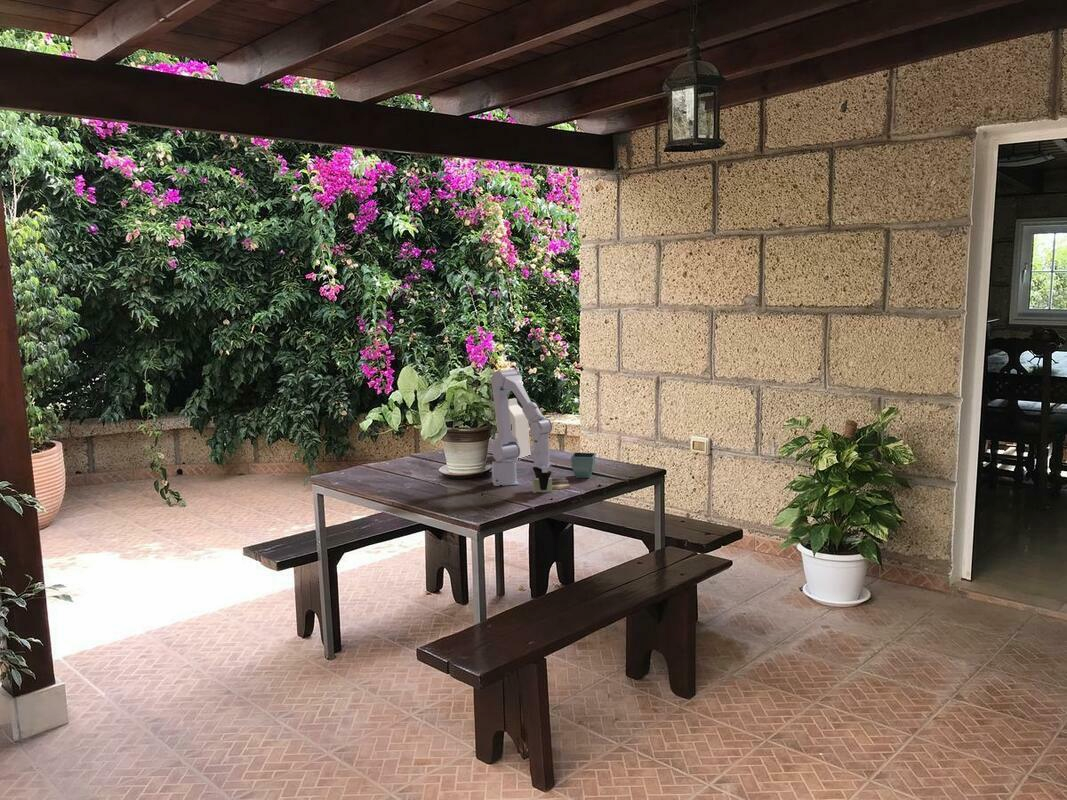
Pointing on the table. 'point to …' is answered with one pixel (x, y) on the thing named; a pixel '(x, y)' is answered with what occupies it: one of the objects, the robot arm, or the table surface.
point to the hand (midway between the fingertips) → (542, 487)
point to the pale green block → (537, 486)
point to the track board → (560, 483)
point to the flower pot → (583, 464)
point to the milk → (519, 427)
